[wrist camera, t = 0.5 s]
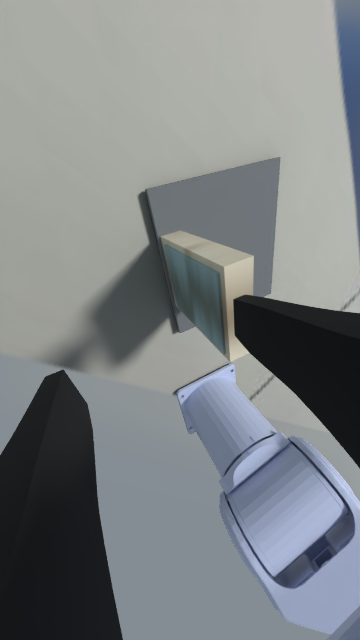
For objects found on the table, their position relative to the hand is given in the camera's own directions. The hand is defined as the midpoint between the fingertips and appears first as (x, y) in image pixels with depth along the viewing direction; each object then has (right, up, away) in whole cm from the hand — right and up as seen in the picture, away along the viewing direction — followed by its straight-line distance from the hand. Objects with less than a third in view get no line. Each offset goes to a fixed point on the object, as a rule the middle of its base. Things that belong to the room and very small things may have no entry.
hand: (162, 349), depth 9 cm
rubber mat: (+4, +7, +10) cm, 13 cm away
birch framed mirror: (+1, +5, +9) cm, 10 cm away
